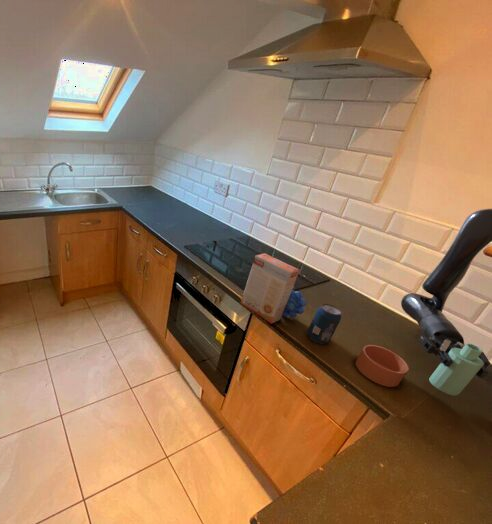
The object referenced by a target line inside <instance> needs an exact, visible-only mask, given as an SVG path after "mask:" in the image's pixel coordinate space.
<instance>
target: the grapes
mask: <svg viewBox="0 0 492 524" xmlns="http://www.w3.org/2000/svg"><path fill="white" fill-rule="evenodd" d="M306 306H307V301H306V300H305V299H304V298H303V293H302V292H301V291H299V290H298V291H297V290H296V291H295V289H294V288H293V289H292V291H291V294H290V296H289V299H288V301H287V304H286V307H285V309H284V312H283V314H282V317H285V318H286V317H287V316H289V317H290V318H291V319H292V318H293V319H294V318H296V317H297V315H302V314H304V312H305V308H304V307H306Z"/></svg>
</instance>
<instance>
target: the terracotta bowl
mask: <svg viewBox="0 0 492 524" xmlns="http://www.w3.org/2000/svg"><path fill="white" fill-rule="evenodd" d="M355 366H356V368H357V370H358V371H359V372H360V373H361V374H362V375H363V376H364V377H366V378H367V379H369V380H370V381H372V382H374V383H376V384H378V385H381V386H383V387H389V388H396V387H397V386H399V384H401V382H402V380H403V379H404V378H405V376H406V375H407V374H408V372H409V370H410V369H409V365H408V363H407V362H406V361H405V360H404V359H403V358H402V357H401V356H399V354H397V353H395V352H393V351H392V350H389V349H388V348H385V347H383V346H379V345H376V344H366V345H364V346H363V348H362V350H361V351H360V353H359V354H358V356H357V358H356V360H355Z"/></svg>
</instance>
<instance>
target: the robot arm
mask: <svg viewBox="0 0 492 524" xmlns="http://www.w3.org/2000/svg"><path fill="white" fill-rule="evenodd" d="M490 243H492V208H482V209H478V210H476V211H474V212H472V213H470V214H469V215H468V216H467V217H466V218H465V220H464V221H463V223H462V225H461V227H460V228H459V230H458V232H457V234H456V236H455V238H454V240H453V241H452V244H451V245H450V246H449V248H448V250H447V251H446V253H445V254H444V256H443V257H442V259H441V260H440V262H438V264H437V265H436V266H435V268H434V269H433V270H432V271H431V272H430V274H429V275H428V276H427V277H426V278H425V280H424V281H423V283H422V285H421V287H422V289H423V290H424V291H425V292H426V293H427V294H430V295H432V296H431V297H430V296H426V295H423V294H420V293H416V292H409V293H406V294H404V295H403V297H402V298H401V300H400V305H401V308H402V310H403V312H404V313H405V314H406V315H408V316H409V317H410V318H411V319H412V320H414V321H415V322H417V324H418V326H419V328H420V331H421V333H422V334H421V335H420V337H419V338H418V342H419V344H420V346H422V348H423V349H424V351H425V352H426V353H427V354H430V355H432V354H433V355H434V356H435V357H436V358H438V360H439V362H440V363H441V362H442V363H443V364H444V366H447V367H449V366H450V365H451V364H452V362H453V361H452V359H451V358H450V356H449V355H448V353H449V351H450V350H451V349H452V348H460V349H463V347H464V346H465V345H466V344H465V339H464V336H463V335H462V334H461V332H460V331H459V330H458V329H457V328H456V326H455V325H454V324H453V323H452V322H451V321H450V320H449V319H448V318H447V317H446V316H445V313H443V310H444V307H445V304H446V302H447V301H448V298H449V296H450V294H451V293H452V292H453V291H454V290H455V288H456V287H457V286H458V285H459V284H460V283H461V282H462V280H463V279H464V277H465V276H466V274H467V273H468V269H469V268H470V266H471V264H472V262H473V261H474V259H475V258H476V256H477V255H478V254H479V253H480V252H481V251H482V250H483V249H484V248H485V247H486V246H488V245H489V244H490ZM478 357H479V358H480V359H481V360H482V361H483V362H484V365H483V366H482V367H481V369H480V370H479V371H478V372H477V373H476V376H477V377H478V378H482V379H484V378H485V377H486V375H488V374H489V371H488V370H487V368H488V367H489V366H490V365H491V364H492V363H491V362H490V360H489V359H488V357H487V355H486V354H485V353H484V351H482V353H481V354H480V355H479V356H478Z"/></svg>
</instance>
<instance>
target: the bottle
mask: <svg viewBox="0 0 492 524" xmlns="http://www.w3.org/2000/svg"><path fill="white" fill-rule="evenodd" d="M482 352H483V350H482V348H481V347H480V346H477V345H475V344H472V343H469V342H468V343H466V344H465V346H464V347H463V349H460V348H452V349H451V350H450V351H449V353H448V355H449V356H450V358H451V359H452V361H453V362H452V364H451V365H450V366H449V367H447V366H444V364H443V363H442V362H441V361H440V363H439V364H438V366H437V367H436V369H435V370H434V371H433V373H432V374H431V375H430V377H429V378H428V380H429V383H430V385H432V386H433V387H434V388H436V389H437V390H438V391H440V392H442V393H444V394H445V395H446V394H447V395H448V396H449V395H450V396H455V397H456V396H459V395H460V394H461V392H462V391H463V390H464V389H465V388H466V387H467V386H468V385H469V383H471V381H472V379H473V378H474V377H475V376H477V374H476V373H477V372H478V371H479V370H480V369H481V367H482V366H483V365H484V362H483V361H482V360H481V359H480V358H479V357H478V356H479V355H480V354H481V353H482Z"/></svg>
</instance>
